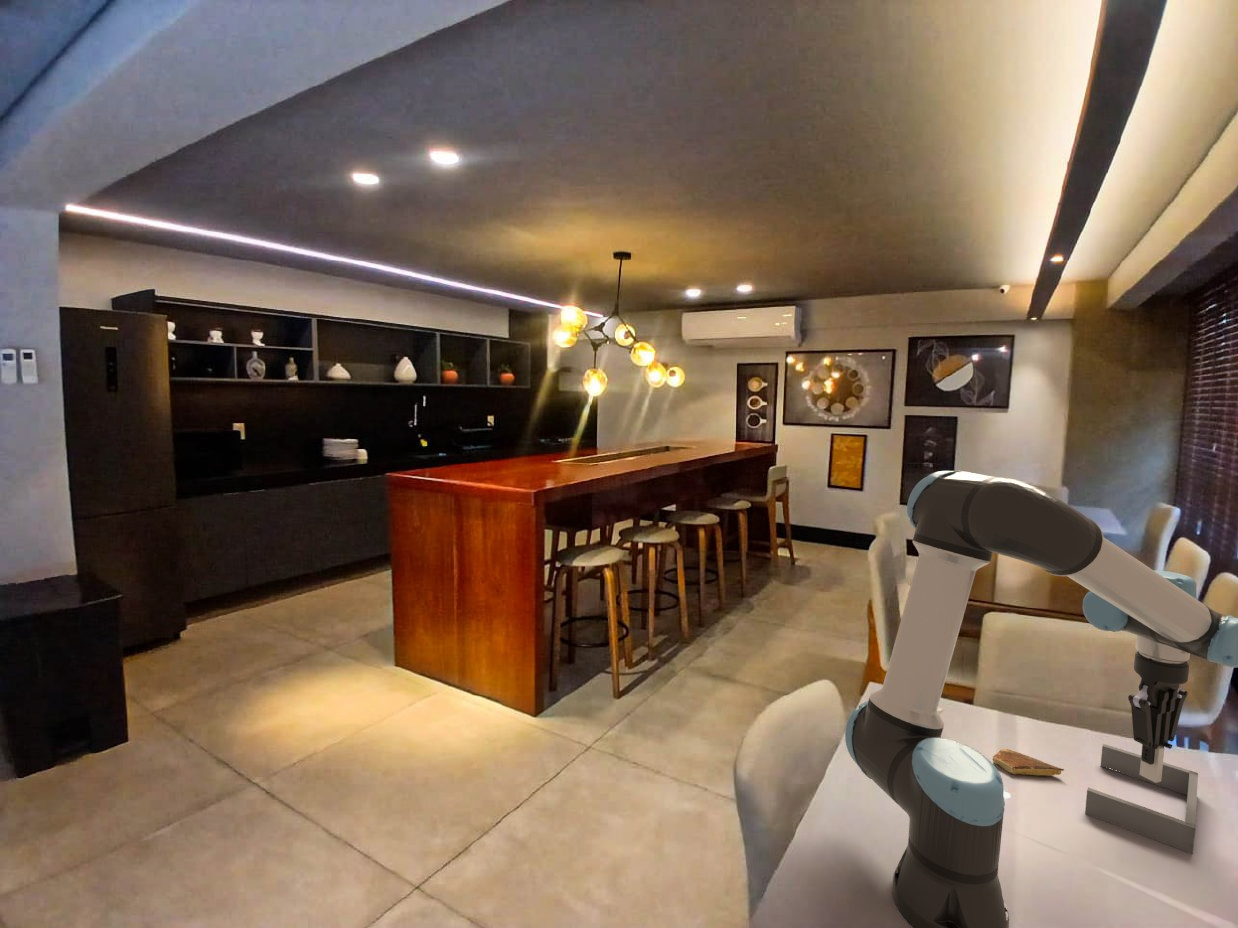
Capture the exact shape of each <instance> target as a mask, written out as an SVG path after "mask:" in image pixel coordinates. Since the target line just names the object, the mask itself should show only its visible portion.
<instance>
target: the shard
mask: <svg viewBox="0 0 1238 928" xmlns="http://www.w3.org/2000/svg"><path fill="white" fill-rule="evenodd" d="M992 761H993V762H992V764H993V765H996V766H1000V767H1001V768H1002V769H1003V770H1005V771H1006V772H1008V773H1010V774H1012V775H1013V776H1014V775H1022V776H1023V775H1030V776H1047V777H1049V776H1055V775H1056V776H1057V775H1059V776H1060V775H1061V774H1062V772H1063V771H1065V769H1064V768H1061V767H1057V766H1055V765H1053V764H1049V763H1047V762H1044V761H1042V760H1039V759H1037V758H1034V757H1032V756H1029V755H1026V754H1023V753H1020V752H1017V751H1014V750H1011V749H1008V748H1003V749H999V750H998V752H997V753H996V754H994V755H993V756H992Z"/></svg>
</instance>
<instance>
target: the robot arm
mask: <svg viewBox="0 0 1238 928" xmlns="http://www.w3.org/2000/svg"><path fill="white" fill-rule="evenodd" d="M906 513H907V517H908V518H909V522H910V524H911V525H912V526H913V528H914V529H915V531H914V535H913V538H912V544H913V546H914V547H915V549H916V550H917V552H918V557H917V561H916V565H915V568H914V573H913V576H912V580H911V583H910V588H909V591H908V593H907V598H906V600H905V601H906V602H905V604H904V605H905V606H904V608H903V612H902V616H901V619H900V621H899V626H898V630H897V633H896V636H895V640H894V645H893V648H892V652H891V655H890V659H889V663H888V666H887V670H886V673H885V677H884V681H883V684H882V686H881V687H882V688H881V689H879V690H877V691H874V692H871V693H870V695H869V698H868V700H867V701H864V702H863V703H861V704H859V705H858V708H857V709H854V710H852V712H851V713H850V715H849V717H848V719H847V721H846V722H847V723H846V726H845V731H844V737H845V738H844V739H845V745H846V748H847V752H848V754H849V756H850V758H851V759H852V760H853V761H854V763H855V764H856V765H857V766H858V767H859V769H860V770H861V772H862V774H864V775H865V776H866V777H867V778H868V779H870V780H872V781H873V782H874V783H875V784H876V785H877V786H878V787H879V788H880V789H881V790H882V791H883V792H884V793H886V795H887V796H888V797H889V798H890V799H892V801H894V803H896V804H897V805H898V806H899V807H900V808H901V809H902V810H903V811H904V812H905V813H906V814H907V816H908V818H909V820H908V822H909V823H908V841H907V846H906V848H905V850H903V851H904V852H903V854H902V856H901V858H900V859H899V862H898V864H897V866H896V868H895V869H894V873H893V877H892V887H891V888H892V892H891V893H893V894H892V898H894V899H893V901H895V902H894V904H895V906H896V908H897V907H898V908H897V910H898V911H899V912H900V914H901V915H902V916H903V917H904V919H905V920H906V921H907V922H909V924H910V925H911V926H912V927H914V928H1009V926H1010V914H1009V910H1008V907H1007V904H1006V901H1005V900H1004V897H1003V890H1002V886H1001V881H1000V878H999V863H1000V853H1001V841H1002V833H1003V821H1004V813H1005V804H1006V803H1005V797H1004V781H1003V778H1002V776H1001V773H1000V772H999V770H998V769H997V767H996V766H995V764H994V763H993V762H992V761H991V760H990V759H989V758H987V757H986V756H985V755H984V754H982V753H981V752H979V750H977V749H975V748H973V747H972V746H969V745H967V744H960V743H959V742H958V741H957V740H953V739H949V738H945V737H942V734H943V730H944V727H945V723H944V720H943V719H942V717H941V714H940V715H939V713H938V711H937V708H938V706H939V704H940V701H941V697H942V693H943V690H944V686H945V683H946V680H947V676H948V672H949V669H950V665H951V662H952V658H953V655H954V650H955V647H956V644H957V639H958V636H959V633H960V629H961V626H962V623H963V620H964V616H965V615H964V614H965V612H966V608H967V604H968V601H969V597H970V594H971V591H972V587H973V583H974V581H975V577H976V572H977V571H978V570H979V569H981V568H983V567H985V566H987V565H989V564H990V563H991V560H992V557H993V554H997V555H1001V556H1003V557H1009V558H1011V559H1015V560H1018V561H1022V562H1025V563H1028V564H1030V565H1034V566H1035V567H1037V568H1040V569H1042V570H1043V571H1045V572H1046V573H1048V574H1050V575H1052V576H1057V577H1068V578H1069V579H1070V580H1072V581H1074V582H1075V583H1077V584H1079V585H1080V586H1082V587H1083V588H1085V589H1087V590H1088V592H1087V593H1086V594H1085V596H1084V597H1083V600H1082V612H1083V615H1084V617H1085V618H1086V620H1087V621H1088V623H1090V625H1091V626H1092V627H1094V628H1096V629H1098V630H1101V631H1104V632H1113V633H1117V632H1121V631H1122V632H1127V633H1130V634H1133V635H1135V636H1136V639H1135V649H1136V652H1135V653H1134V663H1133V670H1134V672H1135V673H1137V674H1138V675H1139V677H1140V678H1141V679H1140V683H1139V684H1138V691H1139V692H1138V693H1137V694H1136V695H1135V694H1132V693H1129V695H1128V701H1129V704H1130V706H1131V708H1130V710H1131V721H1132V722H1131V723H1132V733H1133V740H1134V742H1136V743H1138V744H1141V754H1140V755H1141V764H1140V775H1141V776H1143V777H1145V778H1147V779H1149V780H1151V781H1153V782H1155V783H1158V782H1161V778H1162V768H1163V762H1164V757H1165V748H1166V749H1168V750H1171V749H1173V744H1171V743H1169V742H1174V740H1175V739H1176V738H1175V737H1176V733H1177V729H1178V725H1179V721H1180V717H1181V713H1182V709H1183V707H1184V706H1183V705H1184V702H1185V700H1186V698H1187V697H1188V694H1189V693H1188V691H1187V690H1185V689H1183V688H1180V685H1184V684H1187V683H1188V680H1189V673H1190V663H1189V662H1188V661H1189V660H1190V658H1191V655H1193V656H1195V657H1197V658H1198V657H1199V658H1201V659H1204V660H1206V661H1208V662H1210V663H1215V664H1219V665H1223V666H1225V667H1230V668H1238V618H1237V617H1235V616H1234V615H1231V614H1230V615H1228V614H1223V613H1219V612H1218V611H1216V610H1214V609H1212V608H1211V607H1210V606H1208V605H1206V604H1205V603H1203V602H1201V601H1200V600H1198V599H1197V582H1196V580H1195V579H1194V578H1193V577H1191V576H1189V575H1186V574H1181V573H1178V572H1173V571H1166V570H1165V571H1164V570H1155V569H1152V568H1151V567H1149V566H1147V564H1144V563H1143V562H1142V561H1140V560H1138V559H1137V558H1136V557H1134V556H1132V555H1131V554H1130V553H1128V552H1126V550H1124V549H1122V548H1121V547H1119V546H1118V545H1117V544H1115V543H1113V542H1112V541H1110V540H1109V539H1107V538H1105V537H1104V533H1103V530H1102V529H1101V527H1100V526H1099V525H1098V524H1097V523H1096V522H1095V521H1093V520H1092V519H1091V518H1089V517H1088V516H1087V515H1085V514H1083V513H1081V512H1080V511H1079V510H1078V509H1076V508H1074V507H1072V506H1071V505H1069V504H1067V502H1065V501H1064V500H1061V499H1060V498H1058V497H1056V496H1055V495H1052V494H1051V493H1049V492H1048V491H1045V490H1044V489H1041V488H1040V487H1038V486H1035V485H1033V484H1031V483H1029V482H1026V481H1023V480H1020V479H1015V478H1010V477H1000V476H999V477H998V476H994V475H988V474H987V475H986V474H982V473H976V472H969V471H964V470H941V471H935V472H932V473H930V474H928V475H927V476H926V477H924V478H922V479H921V480H920V481H919V482H917V484H915V486H914V488H913V489H912V491H911V492H910V494H909V497H908V501H907V505H906Z"/></svg>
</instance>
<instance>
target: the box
mask: <svg viewBox="0 0 1238 928" xmlns="http://www.w3.org/2000/svg"><path fill="white" fill-rule="evenodd" d="M1101 746H1102V748H1101V755H1100V756H1101V758H1100V768H1103V767H1107V768H1111V769H1113V770H1117V771H1120V772H1122V773H1124V774H1123V775H1125V774H1127V775H1126V776H1128V775H1130V776H1129V777H1131V776H1132V777H1131V778H1134V777H1135V778H1134V779H1137V778H1138V780H1140V781H1143V782H1147V783H1150V784H1153V785H1155V786H1158V787H1162V788H1165V789H1168V790H1171V791H1174V792H1176V793H1179V794H1183V795H1186V804H1185V805H1186V806H1185V818H1184V820H1183V819H1179V818H1176V817H1174V816H1171V815H1168V814H1165V813H1162V812H1159V811H1156V810H1153V809H1151V808H1147V807H1145V806H1143V805H1139V804H1136V803H1133V802H1131V801H1129V800H1126V799H1122V798H1120V797H1117V796H1114V795H1110V794H1108V793H1105V792H1101V791H1099V790H1097V789H1094V788H1092V787H1087V790H1086V799H1085V810H1084V811H1085V812H1084V813H1085V814H1086V815H1088V816H1091V817H1093V818H1097V819H1099V820H1101V821H1104V822H1107V823H1110V824H1113V825H1115V826H1117V827H1121V828H1123V829H1126V830H1129V831H1131V832H1132V833H1133V832H1134V833H1136V834H1139V835H1141V836H1144V837H1147V838H1149V839H1152V840H1155V841H1157V842H1160V843H1163V844H1165V845H1168V846H1171V847H1173V848H1176V849H1178V850H1181V851H1184V852H1187V853H1189V854H1193V852H1194V846H1195V845H1194V844H1195V843H1194V842H1195V834H1196V821H1197V820H1196V819H1197V802H1198V801H1197V799H1198V785H1199V784H1198V780H1199V773H1198V772H1196V771H1192V770H1190V769H1187V768H1183V767H1179V766H1177V765H1173V764H1171V763H1167V762H1165V761H1163V768H1162V778H1161V782H1158V783H1155V782H1153V781H1151V780H1149V779H1147V778H1145V777H1143V776H1141V775H1140V764H1141V754H1137V753H1135V752H1131V751H1128V750H1124V749H1121V748H1118V747H1114V746H1112V745H1108V744H1104V743H1102V745H1101ZM1107 768H1106V769H1107ZM1113 770H1112V771H1113ZM1122 773H1121V774H1122Z"/></svg>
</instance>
